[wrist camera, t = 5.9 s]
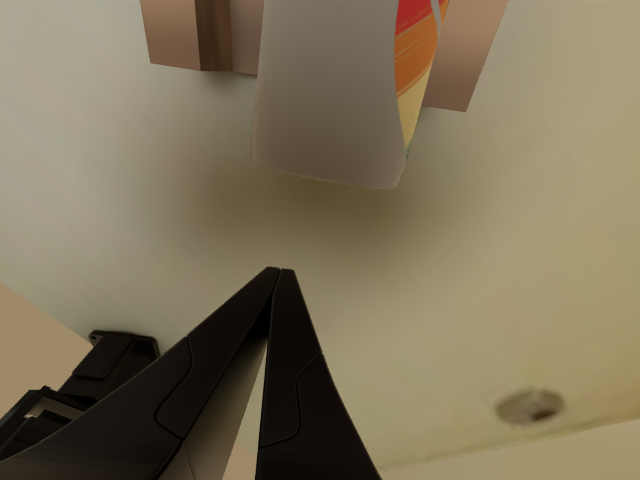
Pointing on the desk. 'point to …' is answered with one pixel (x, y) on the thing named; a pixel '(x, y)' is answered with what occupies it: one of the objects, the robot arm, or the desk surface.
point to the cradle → (246, 28)
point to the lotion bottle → (343, 87)
